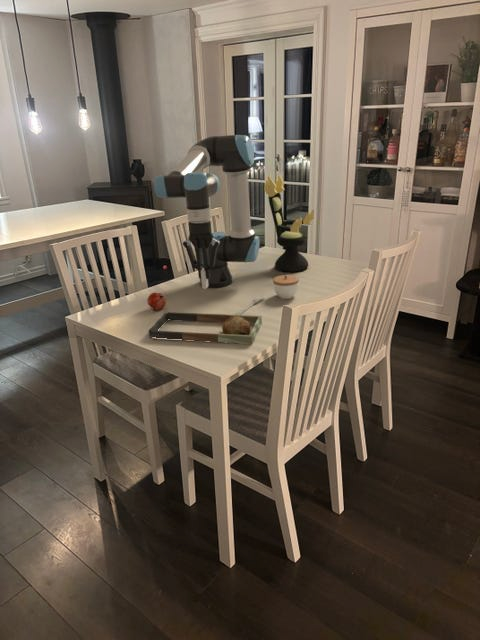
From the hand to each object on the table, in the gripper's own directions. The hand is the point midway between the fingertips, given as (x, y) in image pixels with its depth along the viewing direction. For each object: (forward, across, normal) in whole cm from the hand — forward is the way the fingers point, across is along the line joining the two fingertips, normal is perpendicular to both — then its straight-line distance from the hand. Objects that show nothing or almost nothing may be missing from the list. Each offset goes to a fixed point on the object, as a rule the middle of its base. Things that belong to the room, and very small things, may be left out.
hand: (205, 287), depth 169 cm
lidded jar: (+18, +23, +38) cm, 47 cm away
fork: (+18, +10, +25) cm, 32 cm away
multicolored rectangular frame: (+17, -1, 0) cm, 17 cm away
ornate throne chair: (+18, +18, +78) cm, 82 cm away
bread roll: (+17, +10, 0) cm, 20 cm away
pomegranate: (+17, -28, +18) cm, 38 cm away
